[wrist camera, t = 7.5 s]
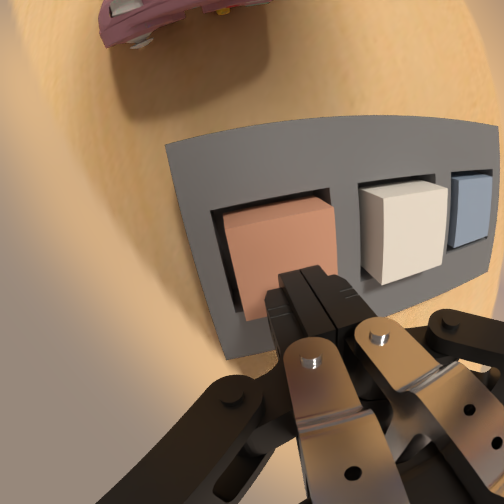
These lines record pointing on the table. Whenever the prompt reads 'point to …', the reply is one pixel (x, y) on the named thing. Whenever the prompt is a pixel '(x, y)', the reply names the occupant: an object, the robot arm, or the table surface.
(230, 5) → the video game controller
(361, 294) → the key console
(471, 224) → the slate blue key
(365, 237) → the off-white key
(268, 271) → the terracotta key
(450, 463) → the robot arm
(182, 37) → the table surface
